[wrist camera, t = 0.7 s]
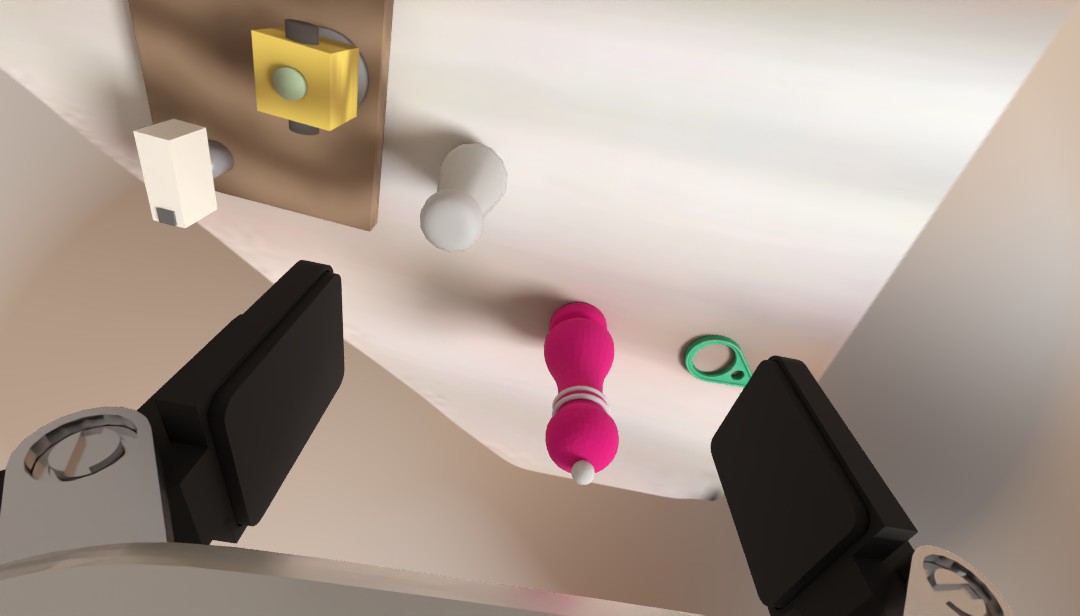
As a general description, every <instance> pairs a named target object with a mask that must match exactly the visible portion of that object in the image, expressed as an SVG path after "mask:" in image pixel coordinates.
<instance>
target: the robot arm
mask: <svg viewBox="0 0 1080 616" xmlns="http://www.w3.org/2000/svg"><path fill="white" fill-rule="evenodd" d="M343 376H344V345H343V317H342V289H341V277H340V275H339V274H335V273H333V269H332V267H331V266H330V265H325V264H320V263H315V262H310V261H305V260H300V261H298V262H297V263H296V264H295V265H294V266H293V267H292V268H291V269H290V270H289V271H288V272H286V273H285V274H284V275H283V276H282V277H281V278H280V279H279V280H278V281H277V282H276V283H275V284H274V285H273V286H272V287H271V288H270V289H269V290H268V291H267V292H266V293H264V294H263V296H261V297H260V298H259V299H258V300H257V301H256V302H255V303H254V304H253V305H252V306H251V307H250V308H249V309H248V310H247V311H246V312H245V313H244V314H242V315H239V316H237V317H236V318H235V319H234V320H232V321H231V322H230V323H229V324H228V325H227V326H226V327H225V328H224V329H223V330H222V331H221V332H219V333H218V334H217V335H216V336H215V337H214V338H213V339H212V340H211V341H210V342H209V343H208V344H207V345H206V346H205V347H204V348H203V349H202V350H201V351H199V352H198V353H197V354H196V355H195V356H194V357H193V358H192V359H191V360H190V361H189V362H188V363H187V364H186V365H185V366H183V367H182V368H181V369H180V370H179V371H178V372H177V373H176V374H175V375H174V376H173V377H172V378H171V379H170V380H169V381H168V382H167V383H165V385H163V386H162V387H161V388H160V389H159V390H158V391H157V392H156V393H155V394H154V395H153V396H152V397H151V398H150V399H149V400H148V401H146V403H145V404H143V405H142V406H141V407H140V408H139V409H138V410H137V411H136V410H132V409H128V408H124V407H100V408H93V409H88V410H82V411H79V412H76V413H73V414H70V415H67V416H64V417H61V418H59V419H57V420H55V421H53V422H51V423H49V424H47V425H45V426H43V427H41V428H40V429H38V430H37V431H36V432H34V433H33V434H31V435H30V436H28V437H27V438H26V439H24V440H23V441H22V442H21V444H20V445H19V446H18V447H17V448H16V449H15V450H14V451H13V453H12V454H11V456H10V459H9V461H8V464H7V466H6V469H5V470H2V471H0V616H705V615H699V614H692V613H686V612H680V611H673V610H667V609H660V608H654V607H647V606H640V605H633V604H628V603H621V602H614V601H608V600H601V599H595V598H588V597H581V596H575V595H568V594H562V593H555V592H548V591H542V590H535V589H528V588H522V587H515V586H508V585H502V584H495V583H489V582H482V581H475V580H467V579H461V578H454V577H447V576H441V575H434V574H427V573H420V572H413V571H406V570H400V569H392V568H386V567H379V566H372V565H366V564H359V563H352V562H345V561H337V560H330V559H322V558H314V557H306V556H299V555H291V554H283V553H276V552H268V551H260V550H253V549H245V548H237V547H226V546H214V545H209V544H210V543H211V541H212V540H217V541H223V542H230V543H237V542H238V540H239V539H240V537H241V535H242V534H243V532H244V530H245V529H246V527H247V526H255V525H257V523H258V522H259V521H260V520H261V518H262V517H263V515H264V514H265V512H266V510H267V508H268V507H269V505H270V503H271V501H272V500H273V498H274V497H275V495H276V493H277V492H278V489H279V488H280V487H281V485H282V483H283V481H284V479H285V478H286V476H287V474H288V473H289V471H290V469H291V468H292V466H293V464H294V463H295V461H296V459H297V458H298V456H299V454H300V453H301V451H302V449H303V448H304V446H305V444H306V443H307V441H308V439H309V437H310V436H311V434H312V432H313V431H314V429H315V427H316V425H317V424H318V422H319V421H320V419H321V417H322V415H323V414H324V412H325V410H326V408H327V407H328V405H329V404H330V402H331V400H332V399H333V397H334V395H335V393H336V392H337V390H338V388H339V387H340V385H341V382H342V379H343ZM711 453H712V457H713V460H714V463H715V466H716V469H717V472H718V475H719V478H720V481H721V484H722V487H723V490H724V493H725V496H726V499H727V502H728V505H729V508H730V511H731V514H732V517H733V520H734V523H735V526H736V529H737V532H738V535H739V538H740V541H741V544H742V547H743V550H744V553H745V556H746V559H747V562H748V566H749V569H750V572H751V575H752V577H753V581H754V584H755V586H756V590H757V593H758V595H759V598H760V600H761V601H762V603H763V604H764V605H766V606H768V609H769V612H770V615H771V616H1014V615H1013V613H1012V611H1011V609H1010V608H1009V606H1008V604H1007V602H1006V601H1005V599H1004V598H1003V597H1002V596H1001V594H1000V593H999V592H998V591H997V589H996V588H995V587H994V586H993V585H992V584H991V583H990V582H989V581H988V580H987V579H986V578H985V577H984V576H983V575H982V574H981V573H980V572H979V571H978V570H976V569H975V568H973V567H972V566H971V565H970V564H968V563H967V562H966V561H964V560H963V559H961V558H959V557H958V556H956V555H954V554H952V553H951V552H949V551H946V550H943V549H940V548H938V547H935V546H926V545H923V546H921V547H918V548H916V549H915V550H913V548H912V546H911V545H910V544H909V542H908V540H909V539H910V538H911V537H913V536H914V535H915V534H916V533H917V532H918V531H917V529H916V528H915V527H914V525H913V524H912V522H911V521H910V519H909V518H908V516H907V515H906V513H905V512H904V511H903V509H902V507H901V506H900V504H899V503H898V501H897V500H896V498H895V497H894V495H893V494H892V492H891V491H890V490H889V488H888V487H887V485H886V484H885V482H884V481H883V479H882V478H881V476H880V475H879V473H878V472H877V470H876V469H875V467H874V466H873V464H872V463H871V461H870V460H869V459H868V457H867V455H866V454H865V452H864V451H863V450H862V448H861V447H860V445H859V444H858V442H857V441H856V439H855V438H854V436H853V435H852V433H851V432H850V431H849V429H848V427H847V426H846V424H845V423H844V421H843V420H842V418H841V417H840V416H839V414H838V412H837V411H836V410H835V408H834V407H833V405H832V404H831V402H830V401H829V399H828V398H827V396H826V395H825V393H824V392H823V390H822V389H821V387H820V386H819V384H818V383H817V381H816V380H815V378H814V377H813V375H812V374H811V373H810V371H809V370H808V368H807V367H806V365H805V364H804V363H803V362H802V361H800V360H796V359H791V358H786V357H781V356H772V357H770V358H769V359H768V360H764V361H762V362H761V363H760V364H759V365H758V367H757V369H756V370H755V372H754V373H753V375H752V376H751V378H750V380H749V381H748V383H747V384H746V386H745V387H744V389H743V391H742V392H741V394H740V395H739V397H738V399H737V400H736V402H735V403H734V405H733V406H732V408H731V410H730V411H729V413H728V414H727V416H726V418H725V419H724V421H723V422H722V424H721V425H720V427H719V429H718V430H717V432H716V433H715V435H714V436H713V439H712V442H711Z"/></svg>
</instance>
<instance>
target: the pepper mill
mask: <svg viewBox="0 0 1080 616" xmlns="http://www.w3.org/2000/svg"><path fill="white" fill-rule="evenodd" d="M544 357H545V362H546V364H547V367H548V370H549V372H550V373H551V375H552V376H553V378H554V380H555V381H556V384H557V387H558V395H557V396H556V397H555V399H554V401H553V412H552V418H551V420H550V422H549V423H548V425H547V429H546V446H547V450H548V453H549V455H550V457H551V459H552V460H553V461H554V462H555V463H556V465H557V466H558V467H560V468H561V469H563V470H565V471H567V472H569V473H571V474H572V477H573V479H574V481H575V482H576V483H578V484H581V485H586V484H588V483H590V482H591V481H592V480H593V478H594V474H595V473H597V472H599V471H601V470H603V469H604V468H605V467H607V466H608V465H609V464H610V463H611V461H612V460H613V459H614V457H615V455H616V453H617V449H618V444H619V436H618V430H617V427H616V424H615V422H614V421H613V419H612V418H611V417H610V410H609V402H608V399H607V398H606V396H605V395H604V394H603V392H602V390H603V381H604V379H605V377H606V375H607V374H608V372H609V370H610V368H611V366H612V363H613V359H614V343H613V340H612V337H611V335H610V334H609V332H608V331H607V324H606V320H605V317H604V315H603V314H602V313H601V311H600V310H598V309H597V308H595V307H594V306H592V305H589V304H585V303H571V304H568V305H565V306H563V307H561V308H560V309H558V310H557V311H556V312H555V313H554V315H553V316H552V318H551V321H550V332H549V334H548V335H547V337H546V340H545V344H544Z"/></svg>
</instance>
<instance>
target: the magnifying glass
mask: <svg viewBox="0 0 1080 616" xmlns="http://www.w3.org/2000/svg"><path fill="white" fill-rule="evenodd" d="M711 344H723V345H727V346H729V347H731V348H732V349H733V350H734V353H735V355H734V359H733V361H732V363H731V364H730V365H729V366H728V367H726V368H725V369H723V370H721V371H718V372H713V373H707V372H702V371H700V370H698V369H697V368H695V366H694V365H693V362H692V360H693V357H694V355H695V354H696V352H697V351H698V350H700V349H701V348H703V347H705V346H707V345H711ZM684 358H685V364H686V367H687V369H688V371H689V372H690V373H691V374H692V375H693V376H694V377H696V378H697V379H700V380H702V381H706V382H713V383H719V384H726V385H732V386H739V387H745V386H746V384H747V383H748V381H749V380H750V378H751V376H752V375H753V374H752V373H751V371H750V369H749V367H748V364H747V362H746V360H745V358H744V356H743V353H742V351H741V349H740V347H739V346H738V344H737V343H736V342H735V341H733V340H732V339H730V338H727V337H724V336H718V335H712V336H705V337H702V338H700V339H698V340H696V341H694V342H693V343H692V344H691V345H690V346H689V347H688V348H687V350H686V352H685V357H684ZM737 370H740V371H742V372H741V373H740V374H739V375H737V376H732V375H731V374H732V373H733V372H734V371H737Z"/></svg>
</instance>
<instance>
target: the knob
mask: <svg viewBox="0 0 1080 616" xmlns="http://www.w3.org/2000/svg"><path fill="white" fill-rule="evenodd" d="M133 132H134V137H135V141H136V145H137V150H138V154H139V159H140V163H141V168H142V172H143V177H144V181H145V185H146V190H147V194H148V199H149V203H150V208H151V212H152V216H153V220H155V221H159V222H161V223H165V224H169V225H173V226H178V227H183V228H186V227H188V226H190V225H191V224H193V223H195V222H197V221H198V220H200V219H202V218H203V217H205V216H207V215H208V214H210V213H212V212H213V211H215V210H217V204H216V196H215V189H214V182H213V178H215V177H217V176H219V175H221V174H223V173H225V172H227V171H229V170H231V169H232V168H233V165H234V159H233V156H232V154H231V153H230V151H229V150H228V149H227V148H226V147H225V146H224V145H222V144H220V143H218V142H213V141H212V142H208V138H207V131H206V127H202V126H198V125H195V124H191V123H187V122H184V121H180V120H177V119H171V120H168V121H165V122H161V123H158V124H154V125H151V126H148V127H144V128H141V129H138V130H134V131H133Z"/></svg>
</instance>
